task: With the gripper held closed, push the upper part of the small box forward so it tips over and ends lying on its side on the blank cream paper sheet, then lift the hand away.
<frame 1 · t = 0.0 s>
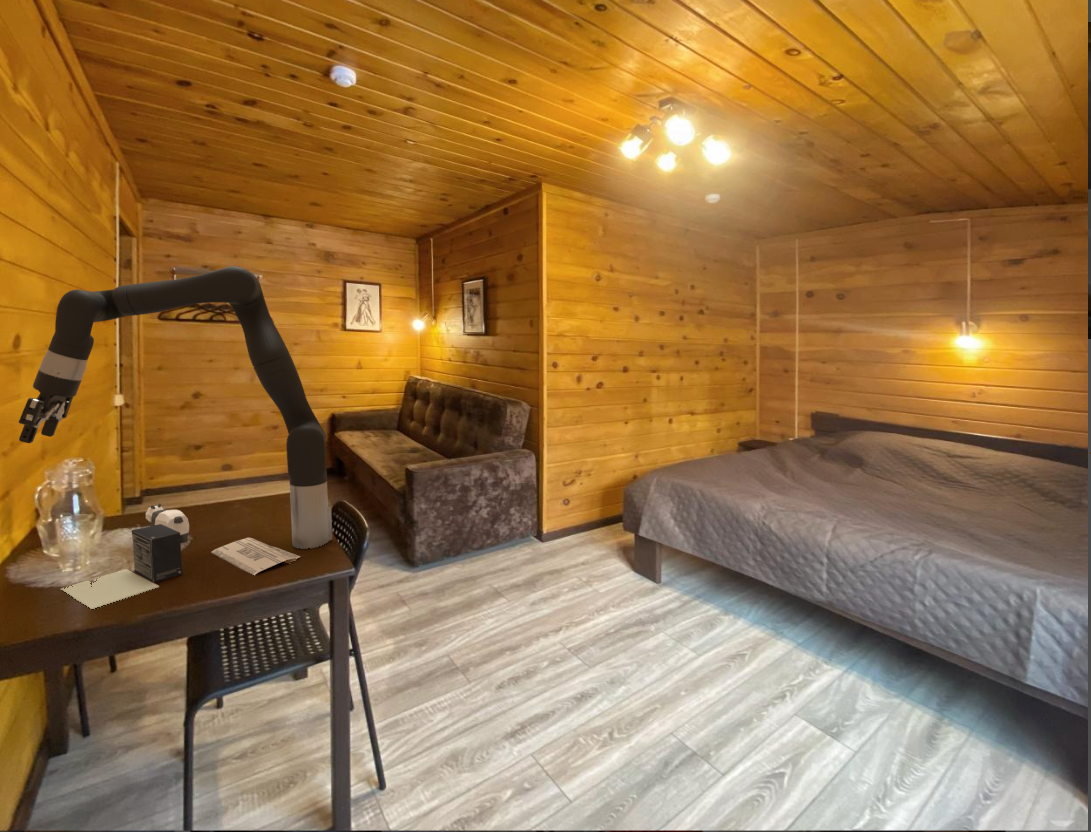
hand: (36, 438, 120), 31 cm above the table, tool tilted 20°, fingers open, 8 cm apart
giant panda: (167, 540, 143), on the table
blank cream paper sheet: (110, 588, 115), on the table
newspaper: (256, 559, 134), on the table
small box: (159, 574, 123), on the table
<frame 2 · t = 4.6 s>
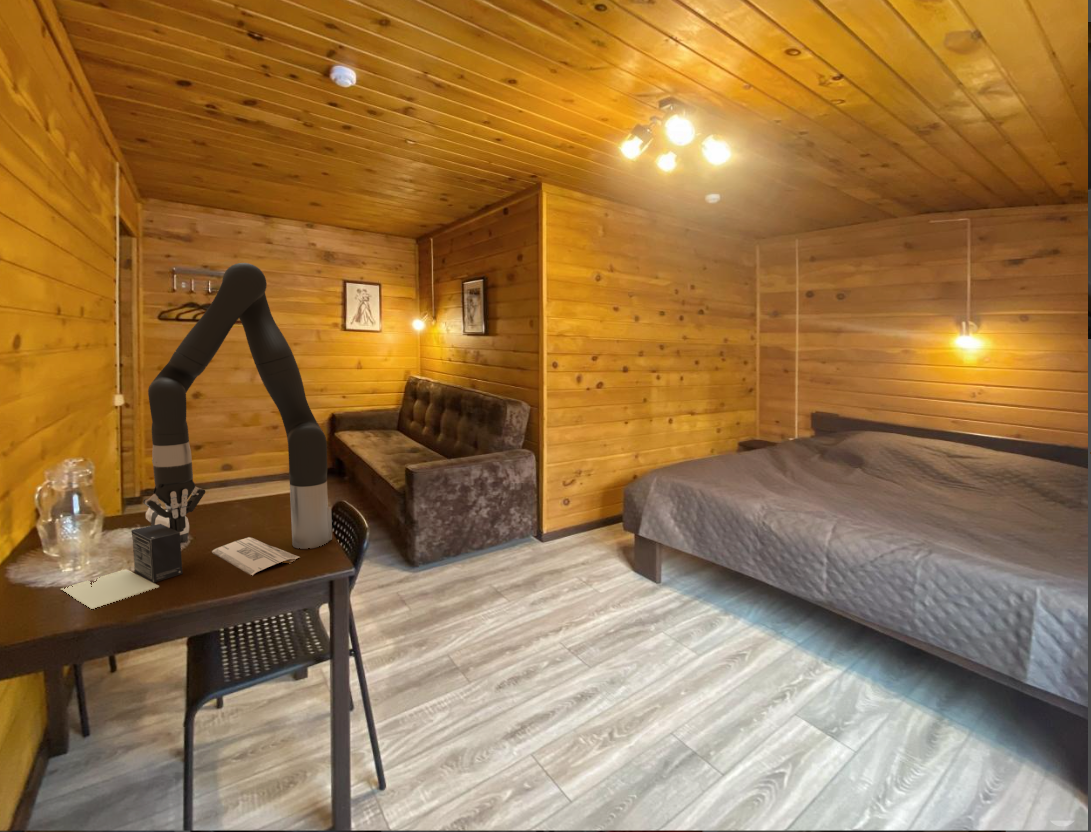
hand: (178, 531, 126), 9 cm above the table, tool pointing down, fingers closed
small box: (159, 573, 123), on the table, touching gripper
everything else where it was.
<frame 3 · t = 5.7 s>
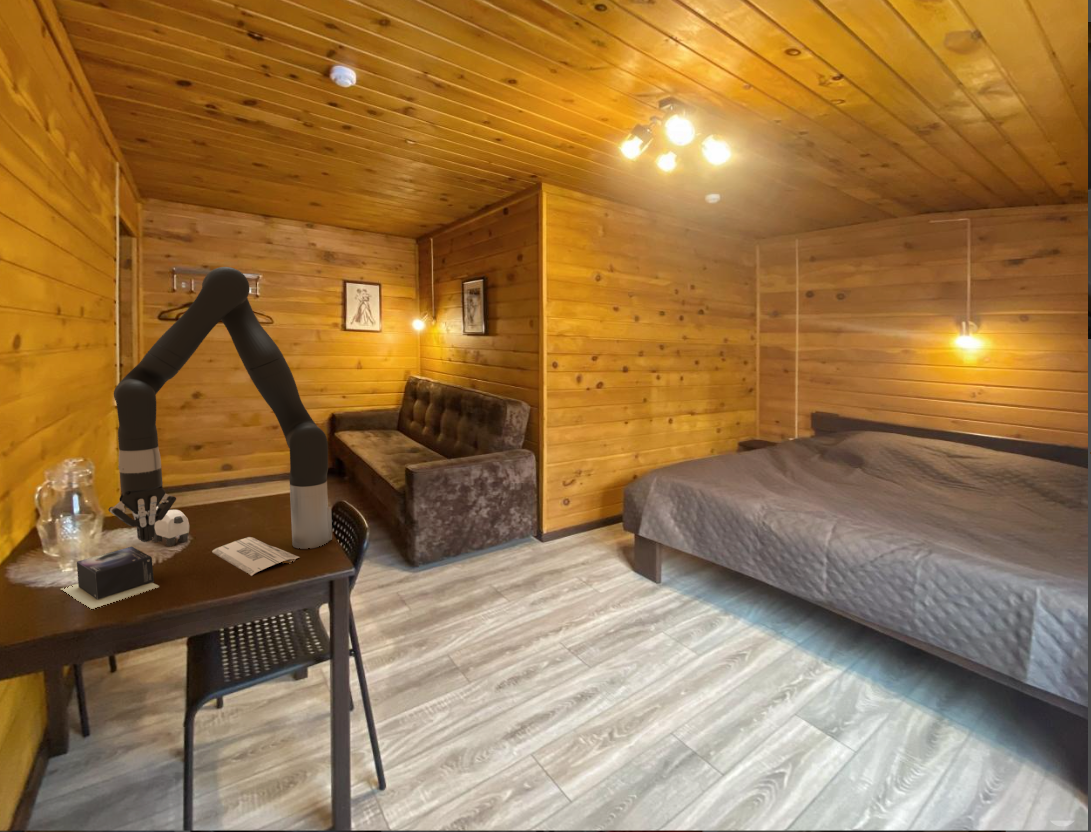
hand: (146, 540, 120), 9 cm above the table, tool pointing down, fingers closed
small box: (144, 562, 120), point 4 cm above the table, touching blank cream paper sheet
everything else where it was.
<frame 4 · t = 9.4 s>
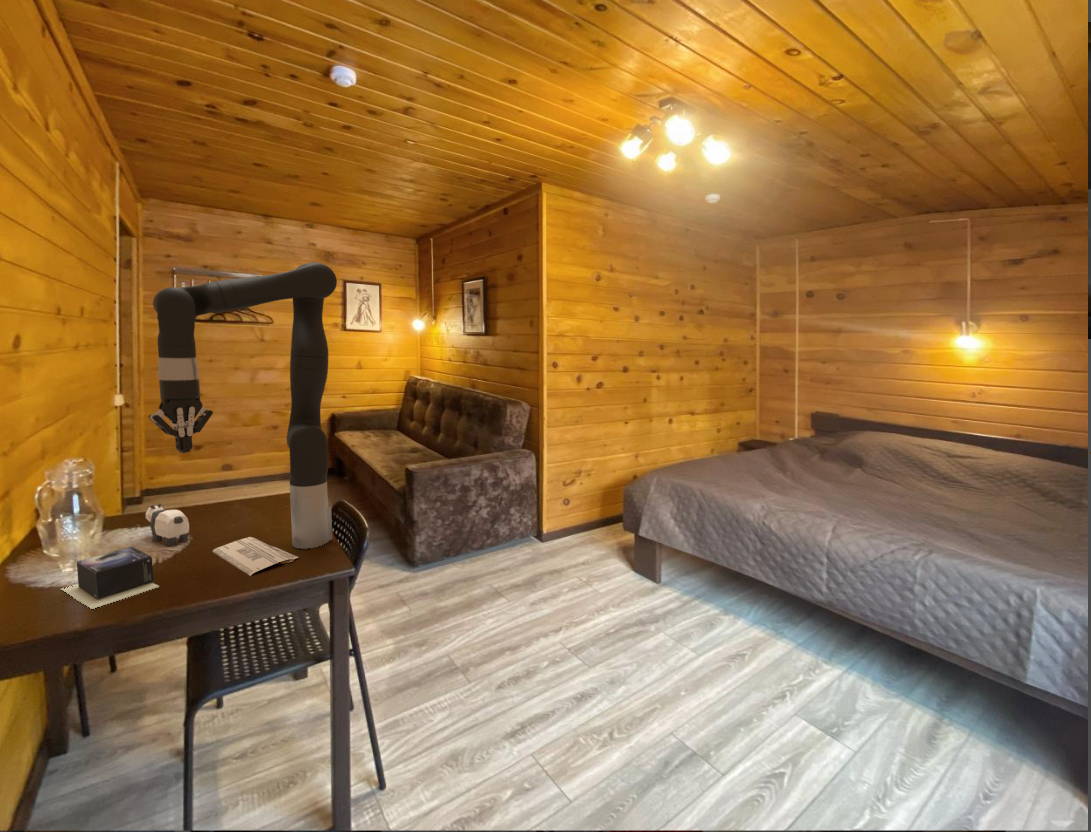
hand: (184, 452, 121), 29 cm above the table, tool pointing down, fingers closed
nothing on the table moved.
at the end: small box tilted 91°; small box inside the target area (4.7 cm from its centre), point 3.5 cm above the table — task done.
